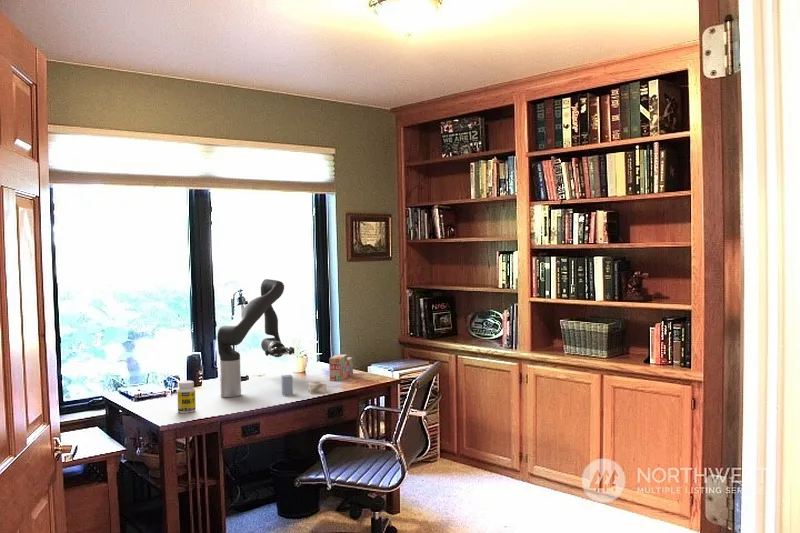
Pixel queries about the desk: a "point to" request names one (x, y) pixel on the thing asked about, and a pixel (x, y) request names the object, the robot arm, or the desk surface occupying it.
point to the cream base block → (317, 387)
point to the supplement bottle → (186, 397)
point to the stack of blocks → (340, 367)
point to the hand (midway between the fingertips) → (282, 353)
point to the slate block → (287, 384)
